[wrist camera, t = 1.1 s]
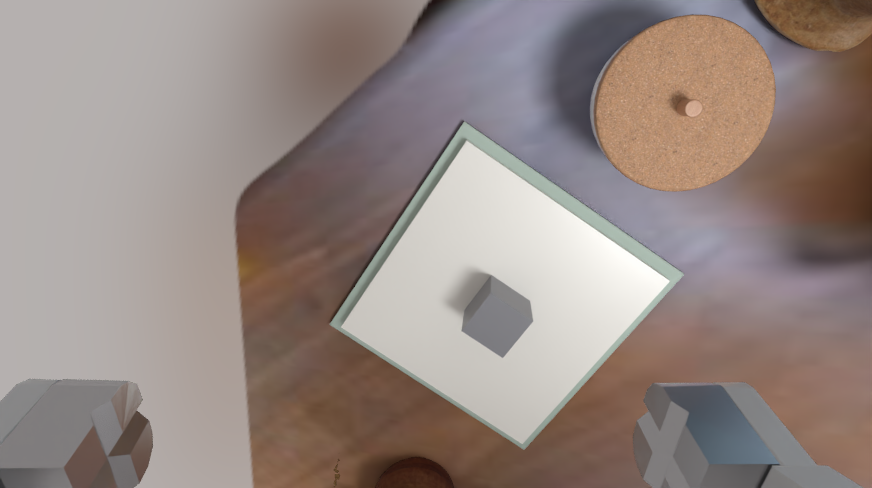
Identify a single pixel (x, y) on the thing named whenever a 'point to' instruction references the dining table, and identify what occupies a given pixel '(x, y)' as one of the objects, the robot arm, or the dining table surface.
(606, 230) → the mat
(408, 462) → the ceramic pot
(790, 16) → the brown boot
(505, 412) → the lid
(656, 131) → the lidded jar
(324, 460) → the dining table surface
